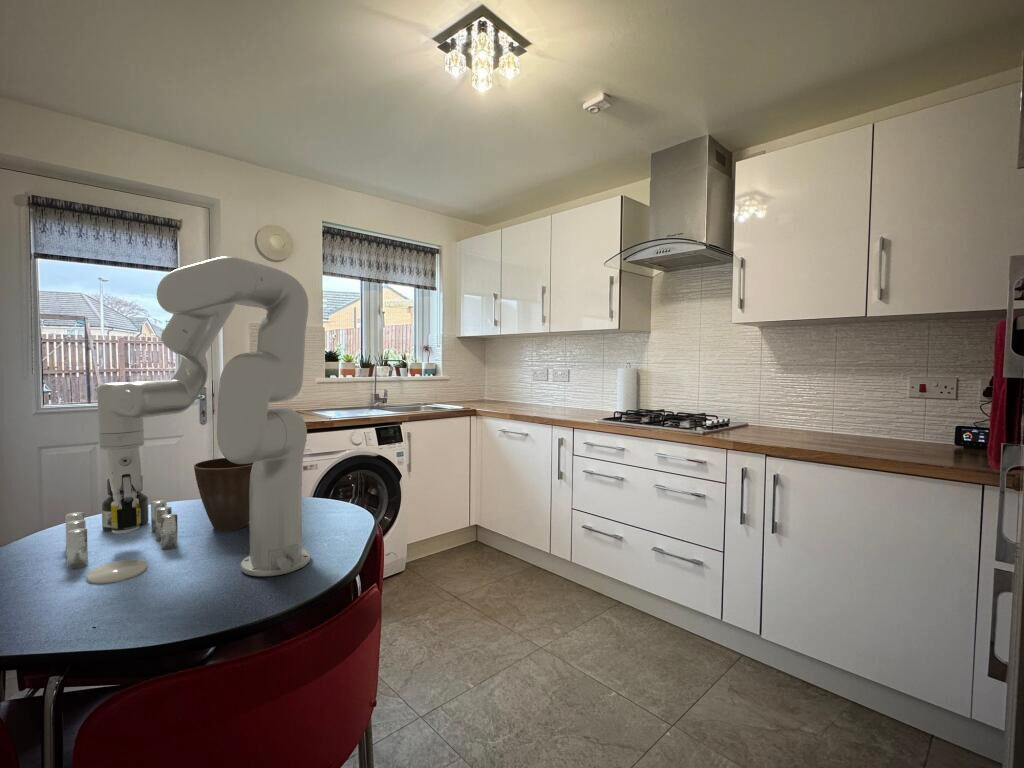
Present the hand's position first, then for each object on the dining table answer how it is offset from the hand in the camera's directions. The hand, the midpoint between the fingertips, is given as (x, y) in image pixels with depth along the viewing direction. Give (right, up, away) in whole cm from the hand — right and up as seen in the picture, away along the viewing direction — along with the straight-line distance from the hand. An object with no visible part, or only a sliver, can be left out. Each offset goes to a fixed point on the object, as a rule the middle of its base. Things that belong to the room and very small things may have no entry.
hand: (125, 523), depth 107 cm
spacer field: (-2, -5, +1) cm, 6 cm away
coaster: (+8, -6, -12) cm, 15 cm away
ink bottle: (-11, -5, +14) cm, 19 cm away
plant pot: (+14, -5, +15) cm, 21 cm away
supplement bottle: (0, -2, 0) cm, 2 cm away
